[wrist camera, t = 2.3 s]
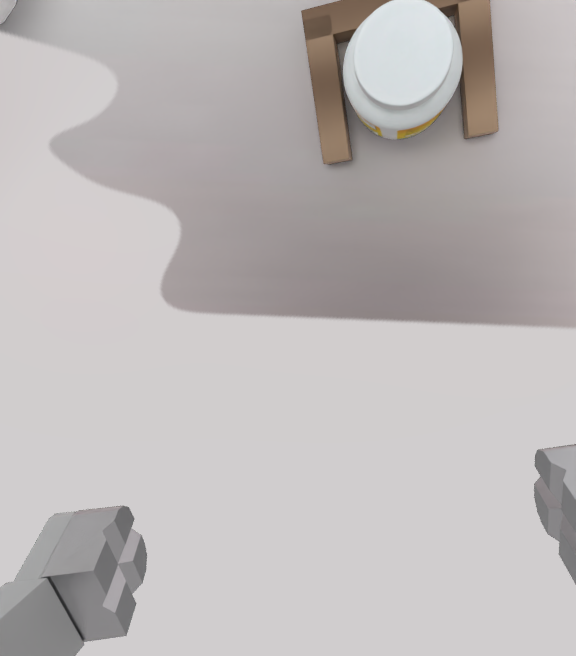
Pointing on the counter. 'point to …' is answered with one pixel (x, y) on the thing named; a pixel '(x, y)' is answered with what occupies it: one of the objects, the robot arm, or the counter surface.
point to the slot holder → (339, 26)
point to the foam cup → (6, 9)
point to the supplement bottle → (402, 68)
